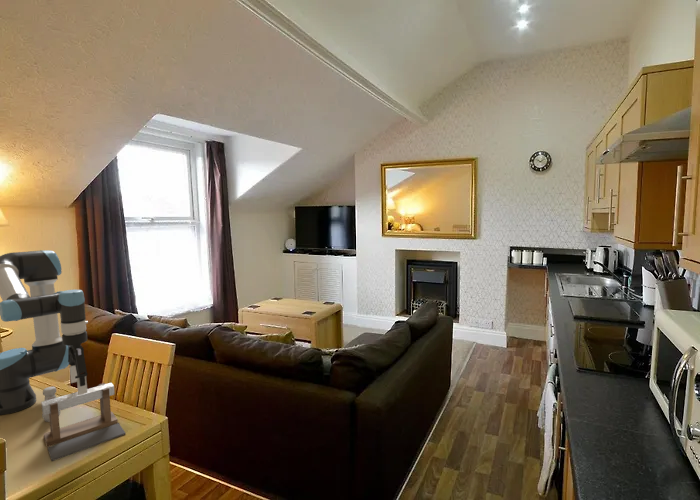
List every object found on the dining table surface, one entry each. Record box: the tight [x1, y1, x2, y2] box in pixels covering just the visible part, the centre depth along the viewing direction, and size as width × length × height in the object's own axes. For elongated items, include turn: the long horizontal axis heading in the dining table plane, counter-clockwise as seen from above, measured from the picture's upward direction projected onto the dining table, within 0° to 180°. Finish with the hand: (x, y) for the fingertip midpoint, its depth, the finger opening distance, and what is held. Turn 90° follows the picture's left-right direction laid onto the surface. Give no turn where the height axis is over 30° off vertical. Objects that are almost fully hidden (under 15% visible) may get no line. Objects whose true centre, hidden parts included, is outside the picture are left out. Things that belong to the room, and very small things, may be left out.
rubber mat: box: [47, 422, 127, 462], centre depth 140 cm, size 9×22×1 cm, turn 134°
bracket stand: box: [43, 382, 119, 448], centre depth 146 cm, size 8×22×14 cm, turn 134°
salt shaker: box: [41, 386, 61, 423], centre depth 154 cm, size 6×6×13 cm
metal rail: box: [40, 382, 115, 415], centre depth 146 cm, size 4×22×4 cm, turn 134°
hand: (78, 387), depth 145 cm, fingers open, 13 cm apart
